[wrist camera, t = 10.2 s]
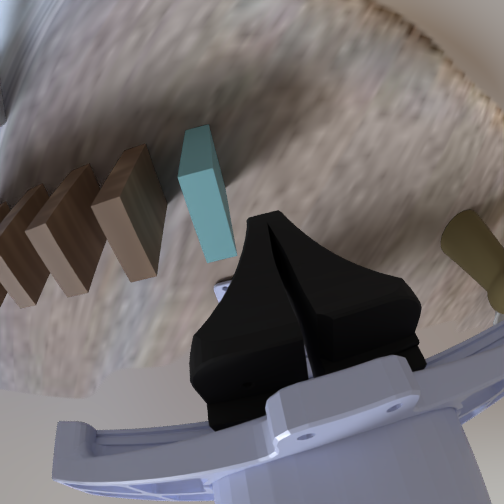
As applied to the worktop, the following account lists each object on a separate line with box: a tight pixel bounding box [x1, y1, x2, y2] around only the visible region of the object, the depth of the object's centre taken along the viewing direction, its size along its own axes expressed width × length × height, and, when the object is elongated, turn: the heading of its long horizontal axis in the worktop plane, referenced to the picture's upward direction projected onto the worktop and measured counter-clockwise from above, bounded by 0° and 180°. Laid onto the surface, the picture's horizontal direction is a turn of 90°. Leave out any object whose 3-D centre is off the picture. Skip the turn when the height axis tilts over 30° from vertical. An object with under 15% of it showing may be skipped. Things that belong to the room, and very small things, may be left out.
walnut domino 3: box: [91, 144, 167, 282], centre depth 18 cm, size 2×5×8 cm, turn 11°
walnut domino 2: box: [25, 164, 107, 297], centre depth 18 cm, size 2×5×8 cm, turn 11°
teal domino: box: [178, 124, 237, 263], centre depth 18 cm, size 2×5×8 cm, turn 11°
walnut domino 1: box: [0, 183, 50, 309], centre depth 18 cm, size 2×5×8 cm, turn 11°
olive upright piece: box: [441, 210, 504, 314], centre depth 25 cm, size 6×6×11 cm
